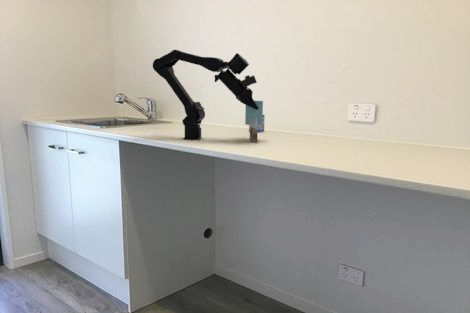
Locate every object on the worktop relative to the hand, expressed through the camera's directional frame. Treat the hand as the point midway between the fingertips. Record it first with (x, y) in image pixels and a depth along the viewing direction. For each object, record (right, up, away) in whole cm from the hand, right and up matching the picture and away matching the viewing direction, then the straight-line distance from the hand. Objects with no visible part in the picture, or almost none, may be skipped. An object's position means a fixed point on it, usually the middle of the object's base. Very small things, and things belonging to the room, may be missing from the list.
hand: (257, 108), depth 159 cm
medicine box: (+2, -8, +32) cm, 33 cm away
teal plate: (-1, -7, +1) cm, 7 cm away
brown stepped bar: (-2, -13, +2) cm, 14 cm away
